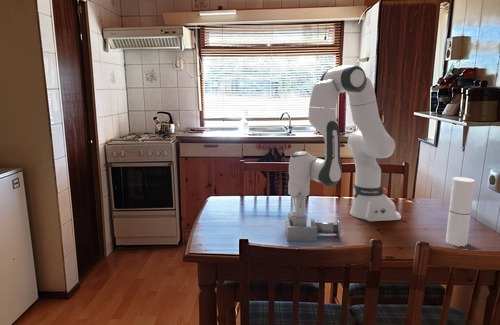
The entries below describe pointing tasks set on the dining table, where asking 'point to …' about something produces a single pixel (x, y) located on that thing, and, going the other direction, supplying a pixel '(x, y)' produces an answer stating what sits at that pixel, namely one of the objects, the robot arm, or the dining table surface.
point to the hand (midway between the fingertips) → (297, 220)
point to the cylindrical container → (460, 211)
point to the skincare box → (296, 220)
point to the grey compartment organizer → (311, 230)
